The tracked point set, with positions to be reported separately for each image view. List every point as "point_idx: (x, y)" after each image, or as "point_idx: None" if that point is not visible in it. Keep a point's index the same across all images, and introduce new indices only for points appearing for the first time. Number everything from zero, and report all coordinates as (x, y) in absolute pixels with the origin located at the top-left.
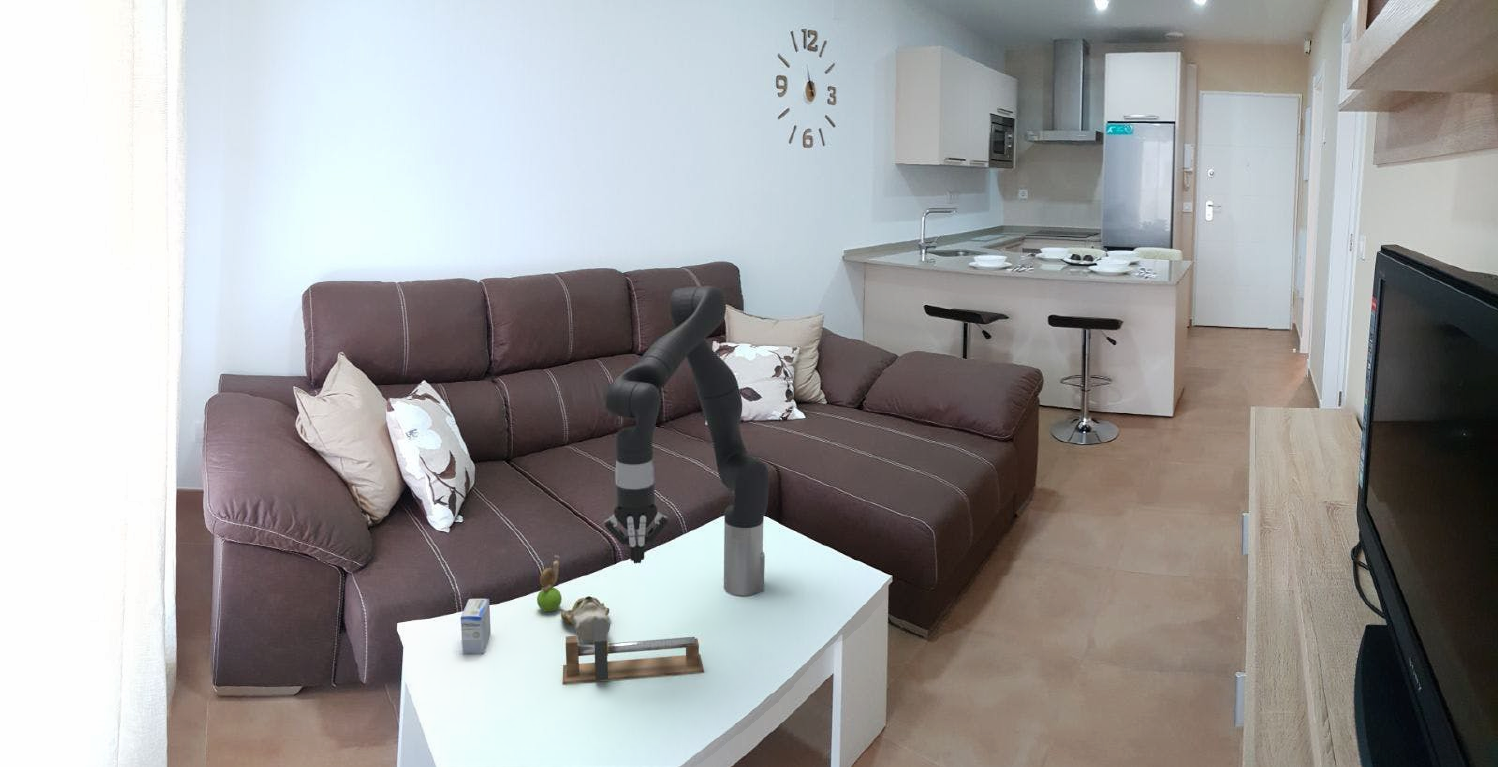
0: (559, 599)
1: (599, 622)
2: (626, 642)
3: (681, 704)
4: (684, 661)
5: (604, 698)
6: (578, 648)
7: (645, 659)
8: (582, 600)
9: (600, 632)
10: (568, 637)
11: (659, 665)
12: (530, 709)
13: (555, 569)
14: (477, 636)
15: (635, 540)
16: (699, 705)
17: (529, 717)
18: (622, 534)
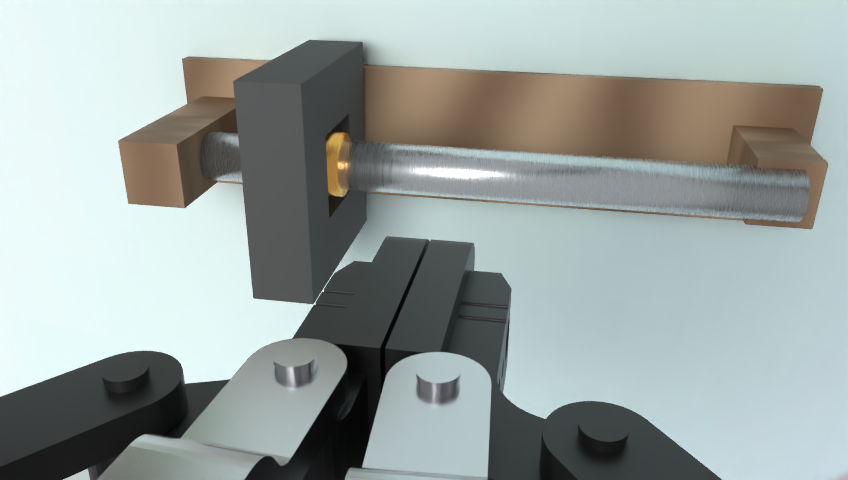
0: None
1: (267, 114)
2: (430, 176)
3: (630, 391)
4: (722, 139)
5: None
6: (204, 173)
7: (541, 85)
8: None
9: (278, 219)
10: (133, 155)
11: (597, 148)
12: (118, 294)
13: None
14: None
15: (349, 446)
16: (695, 412)
17: (124, 333)
18: (88, 456)
